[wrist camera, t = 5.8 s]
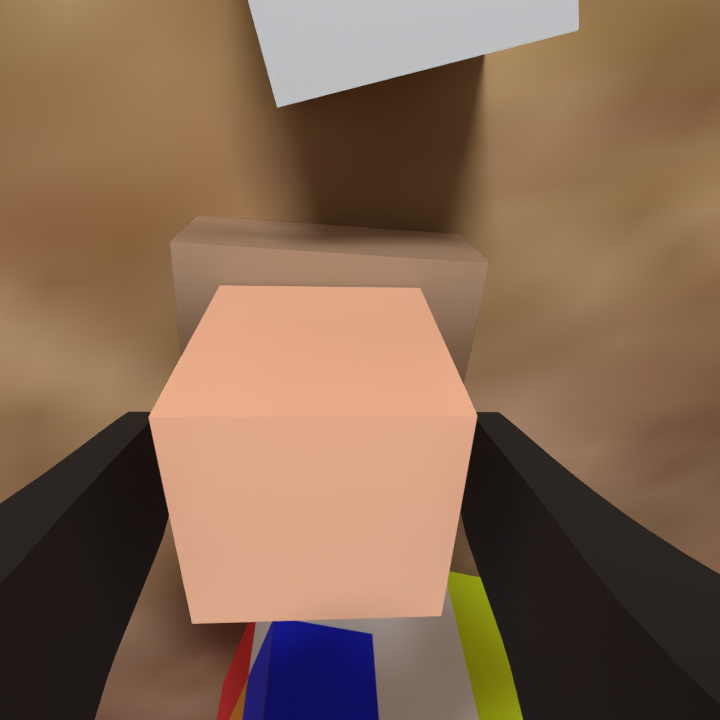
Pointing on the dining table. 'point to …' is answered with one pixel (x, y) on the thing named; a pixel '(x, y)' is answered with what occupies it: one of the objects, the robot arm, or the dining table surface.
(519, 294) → the dining table surface
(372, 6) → the light grey block
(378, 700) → the puzzle toy
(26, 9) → the dining table surface
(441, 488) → the peach block
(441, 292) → the wood slab
